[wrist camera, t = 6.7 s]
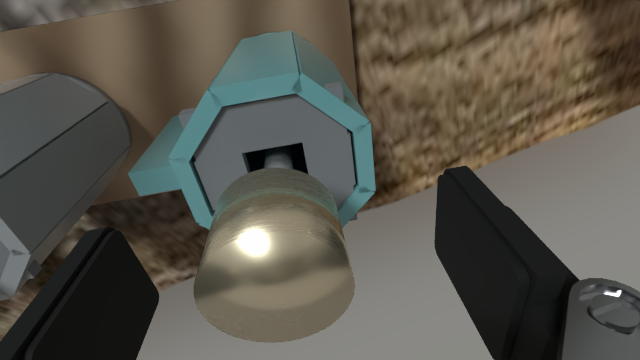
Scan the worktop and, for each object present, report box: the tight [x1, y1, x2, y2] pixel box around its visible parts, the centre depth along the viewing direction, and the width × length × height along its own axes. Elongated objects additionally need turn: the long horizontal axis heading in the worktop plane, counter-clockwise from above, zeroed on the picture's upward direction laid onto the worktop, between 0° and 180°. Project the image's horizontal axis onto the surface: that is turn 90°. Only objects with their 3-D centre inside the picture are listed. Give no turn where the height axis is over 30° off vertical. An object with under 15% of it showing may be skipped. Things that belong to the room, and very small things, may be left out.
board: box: [0, 0, 358, 206], centre depth 24 cm, size 26×13×1 cm, turn 99°
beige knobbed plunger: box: [194, 144, 355, 342], centre depth 15 cm, size 5×5×16 cm
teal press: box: [128, 30, 376, 230], centre depth 18 cm, size 10×8×12 cm
